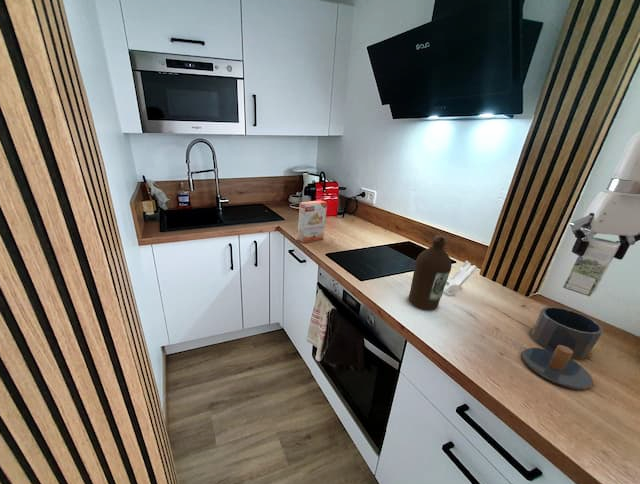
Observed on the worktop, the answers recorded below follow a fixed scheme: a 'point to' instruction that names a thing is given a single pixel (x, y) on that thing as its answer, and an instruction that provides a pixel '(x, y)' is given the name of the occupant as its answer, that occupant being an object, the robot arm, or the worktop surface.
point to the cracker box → (311, 221)
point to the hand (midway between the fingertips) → (595, 255)
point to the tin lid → (558, 367)
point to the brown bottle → (430, 275)
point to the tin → (566, 331)
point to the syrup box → (591, 266)
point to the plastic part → (459, 278)
